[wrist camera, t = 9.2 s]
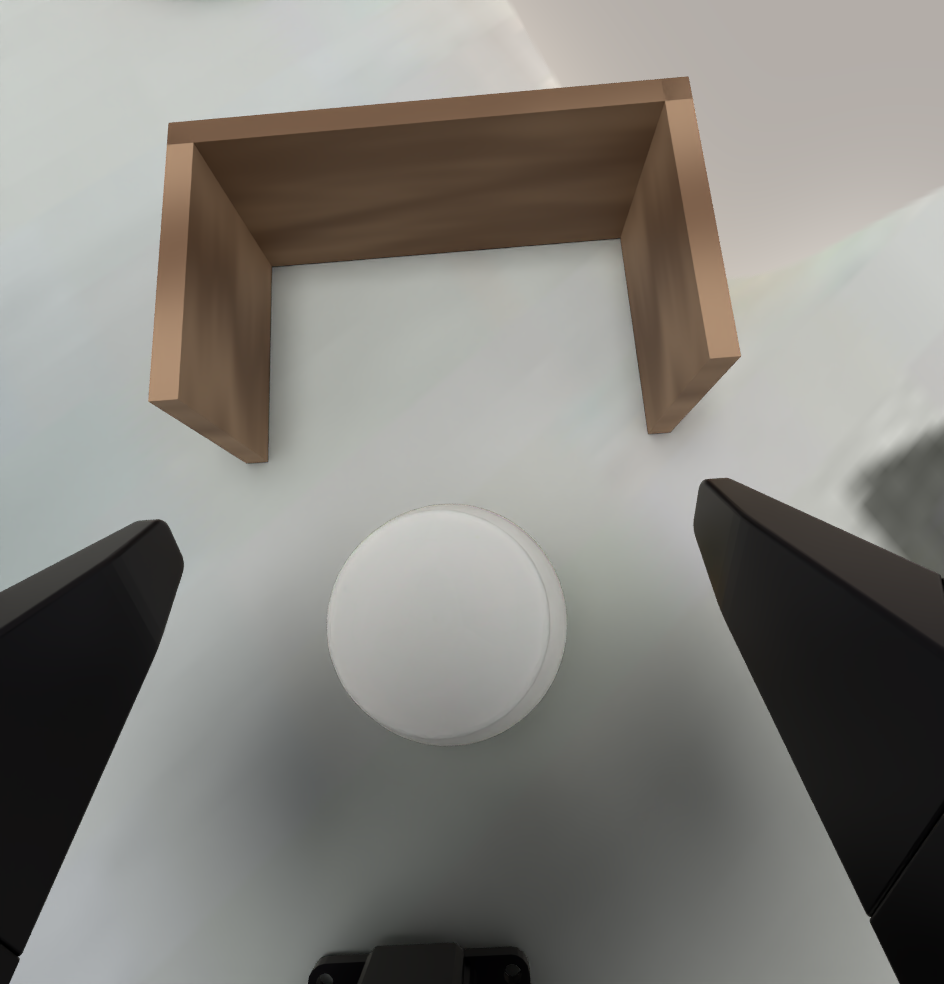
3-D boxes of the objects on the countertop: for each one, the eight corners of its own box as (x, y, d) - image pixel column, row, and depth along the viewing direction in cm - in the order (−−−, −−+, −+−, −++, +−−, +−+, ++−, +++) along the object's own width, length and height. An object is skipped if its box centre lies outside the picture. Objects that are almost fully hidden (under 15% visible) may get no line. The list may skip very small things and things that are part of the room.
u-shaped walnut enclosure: (670, 432, 20) (741, 356, 14) (246, 463, 21) (148, 401, 15) (637, 219, 22) (688, 76, 16) (252, 250, 23) (168, 123, 17)
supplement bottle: (358, 659, 19) (226, 697, 10) (426, 517, 20) (365, 426, 11) (504, 730, 18) (515, 846, 9) (566, 579, 19) (633, 541, 10)
